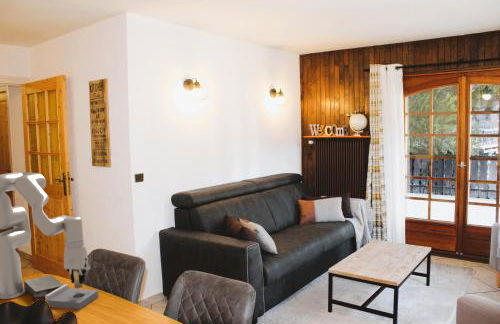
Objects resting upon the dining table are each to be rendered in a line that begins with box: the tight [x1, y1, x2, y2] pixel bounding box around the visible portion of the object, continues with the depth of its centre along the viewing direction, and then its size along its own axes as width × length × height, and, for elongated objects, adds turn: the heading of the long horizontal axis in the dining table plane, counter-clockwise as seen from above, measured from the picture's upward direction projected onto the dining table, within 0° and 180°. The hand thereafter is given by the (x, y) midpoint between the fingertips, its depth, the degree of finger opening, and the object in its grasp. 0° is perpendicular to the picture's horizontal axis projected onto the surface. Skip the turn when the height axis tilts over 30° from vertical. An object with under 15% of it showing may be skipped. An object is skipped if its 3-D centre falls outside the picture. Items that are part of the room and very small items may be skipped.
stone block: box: [23, 274, 64, 301], centre depth 212 cm, size 14×20×5 cm
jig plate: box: [44, 283, 100, 310], centre depth 200 cm, size 18×14×5 cm
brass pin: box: [73, 269, 84, 289], centre depth 198 cm, size 4×4×9 cm
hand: (78, 282), depth 198 cm, fingers closed on brass pin, 3 cm apart
